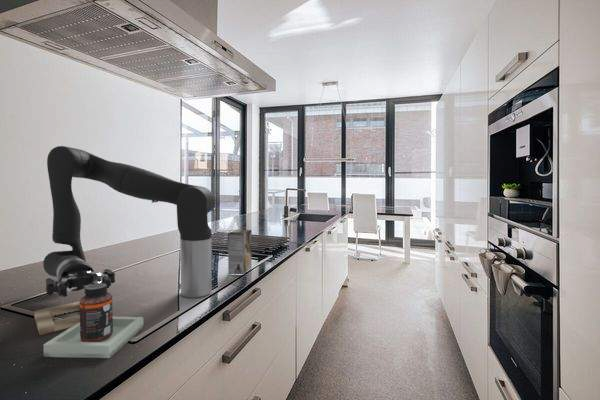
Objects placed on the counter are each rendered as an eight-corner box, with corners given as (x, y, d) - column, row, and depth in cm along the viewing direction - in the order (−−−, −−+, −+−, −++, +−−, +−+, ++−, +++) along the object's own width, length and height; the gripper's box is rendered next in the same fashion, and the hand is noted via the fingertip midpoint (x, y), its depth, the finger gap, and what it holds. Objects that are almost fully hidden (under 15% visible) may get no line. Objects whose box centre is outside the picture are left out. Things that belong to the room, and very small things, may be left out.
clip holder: (34, 316, 79) (34, 311, 79) (94, 303, 88) (94, 298, 88) (39, 335, 69) (39, 328, 69) (106, 318, 79) (106, 312, 78)
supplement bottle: (117, 337, 68) (116, 285, 67) (84, 347, 63) (83, 292, 63) (108, 328, 72) (107, 279, 71) (76, 337, 67) (75, 286, 67)
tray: (89, 326, 74) (89, 316, 74) (143, 327, 74) (143, 317, 74) (43, 356, 61) (43, 344, 61) (109, 358, 61) (109, 345, 61)
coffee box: (236, 268, 125) (236, 229, 124) (251, 269, 124) (252, 229, 123) (227, 275, 116) (227, 232, 115) (244, 276, 115) (244, 233, 114)
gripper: (41, 264, 81) (48, 279, 69) (104, 256, 91) (120, 267, 79) (41, 292, 81) (49, 311, 70) (104, 281, 91) (120, 296, 80)
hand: (87, 288), depth 75 cm, fingers open, 8 cm apart
